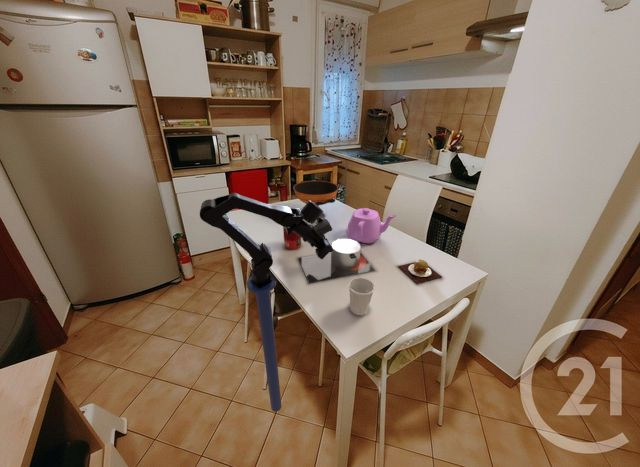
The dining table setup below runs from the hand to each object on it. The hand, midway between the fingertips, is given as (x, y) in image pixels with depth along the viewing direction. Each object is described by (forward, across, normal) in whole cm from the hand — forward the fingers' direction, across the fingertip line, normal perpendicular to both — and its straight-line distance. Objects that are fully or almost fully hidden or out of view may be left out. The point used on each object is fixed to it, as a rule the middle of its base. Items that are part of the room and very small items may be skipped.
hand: (331, 251), depth 107 cm
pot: (+9, 0, 0) cm, 9 cm away
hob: (+6, 0, +4) cm, 7 cm away
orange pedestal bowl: (+11, +51, -1) cm, 52 cm away
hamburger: (+28, -15, -18) cm, 37 cm away
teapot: (+23, +18, -12) cm, 32 cm away
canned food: (-4, +20, +14) cm, 25 cm away
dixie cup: (+5, -27, +5) cm, 28 cm away
